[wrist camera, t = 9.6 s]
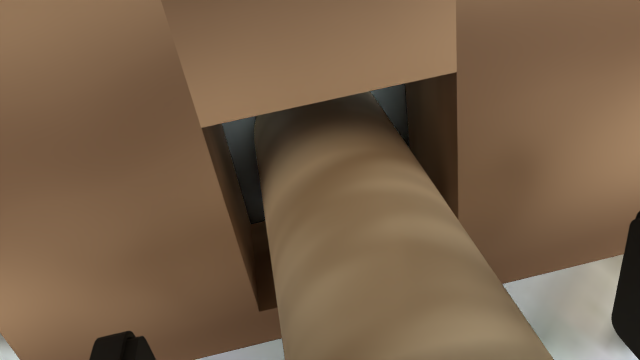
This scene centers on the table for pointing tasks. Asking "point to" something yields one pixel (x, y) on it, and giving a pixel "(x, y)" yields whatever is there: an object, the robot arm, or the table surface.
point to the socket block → (275, 95)
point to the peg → (373, 246)
